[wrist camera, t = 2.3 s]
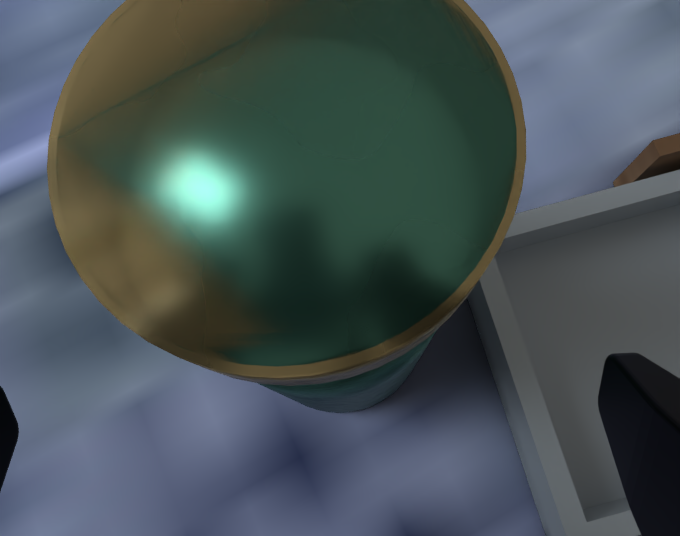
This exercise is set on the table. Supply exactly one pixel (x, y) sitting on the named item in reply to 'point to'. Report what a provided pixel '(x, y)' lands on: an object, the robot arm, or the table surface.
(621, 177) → the walnut stand
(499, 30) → the table surface
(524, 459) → the tray
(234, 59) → the tea tin
